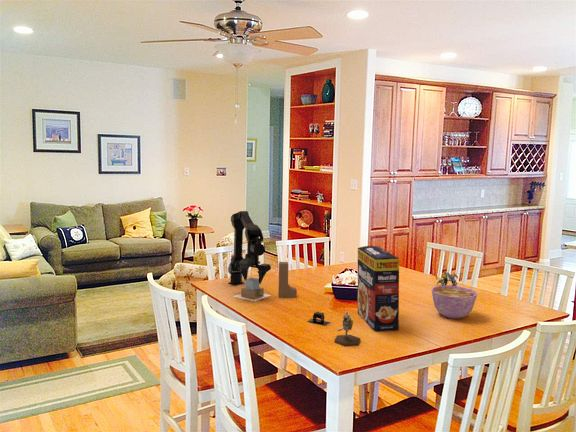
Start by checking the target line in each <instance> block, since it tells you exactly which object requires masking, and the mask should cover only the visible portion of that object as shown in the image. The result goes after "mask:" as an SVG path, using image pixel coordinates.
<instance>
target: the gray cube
mask: <svg viewBox="0 0 576 432" xmlns="http://www.w3.org/2000/svg"><path fill="white" fill-rule="evenodd" d="M244 284H245V285H244V286H245V287H244V288H245V289H247V290H252V291H254V290H257V289H259V288H260V284H259V278H257V277H249V278H248V277H247V279H246V280H244Z"/></svg>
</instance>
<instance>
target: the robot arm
mask: <svg viewBox="0 0 576 432" xmlns="http://www.w3.org/2000/svg"><path fill="white" fill-rule="evenodd" d="M230 222H231V225H232V227H233V229H234V231H233V234H234V235H233V236H234V237H233V255H232V257H231V258H230V263H229V265H228V267H227V271H228V272H227V273H228V274H230V282H228V284H230V285H235V286H239V285H242V284H245V280H246V279H248V273H249V268H255V269H257V273H258V279H259V285H261V284H262V282H263V280H264V278H265V276H266V274H267V273H268V272H269V271H271V269H272V266H271V264H270V263H261V261H259V260H260V259H259V257H261V256H262V255H264V254H265V252H266V247H265V245H264V244H262V242H264V235H263V232H262V229H261V227H259V225H257V224H255V223H254V222H253V219H252V218H251V216H250V214H249V211H247V210H239V211H238V212H236V213H233V214H232V215H231V216H230ZM244 230H245V231H244ZM244 235H245V239H246V242H247V243H246V245H247V250H246V251H247V252H246V253H245V255H244V257H243V244H244V243H243V239H244V238H243V236H244Z"/></svg>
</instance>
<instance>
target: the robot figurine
mask: <svg viewBox="0 0 576 432" xmlns="http://www.w3.org/2000/svg"><path fill="white" fill-rule="evenodd" d="M350 316H351V313H350V312H345V314H344V315H343V320H342V328H338V329H337V331H338V332H340V331H342V330H343V331H345V333H344V334H340V335H336V337H335V338H334V340H333V341H334V344H338V345H340V346H343V347H356V346H357V347H358V346H359V345H360V342H361V337H358V336H354V335H352V334H348V332H349V331H352V329H353V324H354V320H353V319H352V318H351V317H350Z"/></svg>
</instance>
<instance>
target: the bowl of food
mask: <svg viewBox="0 0 576 432" xmlns="http://www.w3.org/2000/svg"><path fill="white" fill-rule="evenodd" d="M431 294H432V295H431V296H432V301H433V305H434V308H435V310H437V311H436V312H438V313H440V314H441V315H443V316H444V317H446V318H449V319H461V318H463V317H467V316H468V315H470V314H471V312H472V311H473V309H474V305H475V302H476V300H477V296H478V292H477V291H475V290H473V289H472V288H468V287H463V286H459V285H458V286H457V285H456V286H453V285H442V286H441V285H438V286H434V287H431Z"/></svg>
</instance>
